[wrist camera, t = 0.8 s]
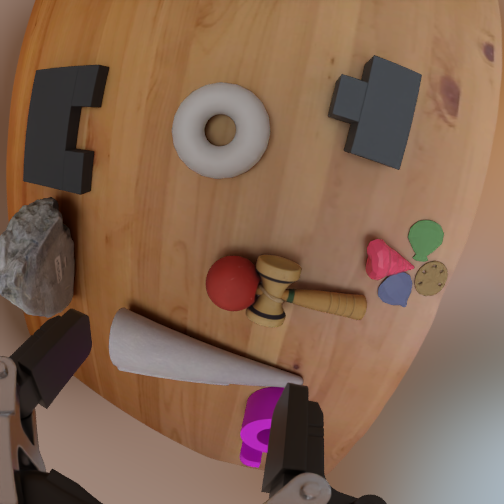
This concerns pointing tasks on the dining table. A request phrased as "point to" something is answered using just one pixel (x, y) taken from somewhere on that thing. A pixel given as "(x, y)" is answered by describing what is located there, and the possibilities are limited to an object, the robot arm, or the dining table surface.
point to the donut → (246, 138)
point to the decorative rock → (37, 260)
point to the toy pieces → (407, 265)
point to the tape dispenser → (258, 424)
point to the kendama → (272, 290)
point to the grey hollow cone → (183, 356)
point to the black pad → (61, 126)
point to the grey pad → (377, 110)
